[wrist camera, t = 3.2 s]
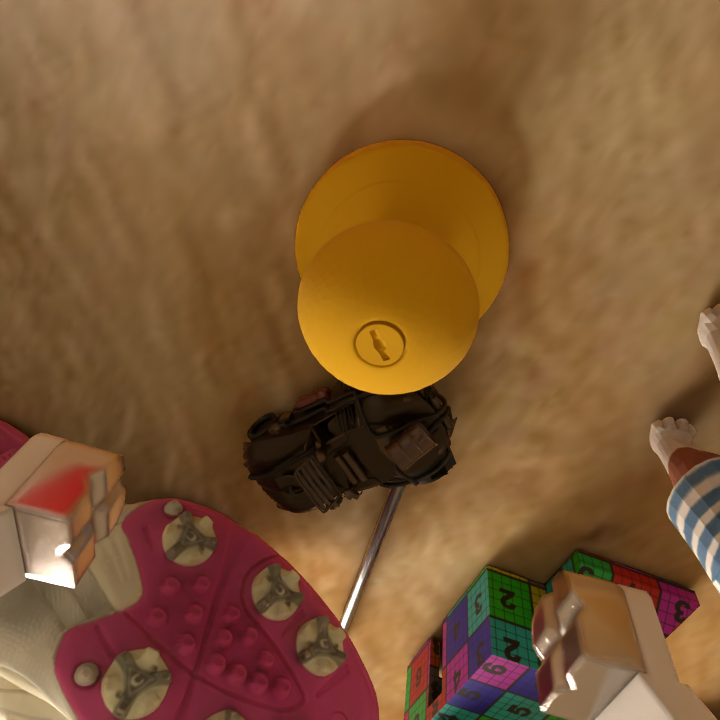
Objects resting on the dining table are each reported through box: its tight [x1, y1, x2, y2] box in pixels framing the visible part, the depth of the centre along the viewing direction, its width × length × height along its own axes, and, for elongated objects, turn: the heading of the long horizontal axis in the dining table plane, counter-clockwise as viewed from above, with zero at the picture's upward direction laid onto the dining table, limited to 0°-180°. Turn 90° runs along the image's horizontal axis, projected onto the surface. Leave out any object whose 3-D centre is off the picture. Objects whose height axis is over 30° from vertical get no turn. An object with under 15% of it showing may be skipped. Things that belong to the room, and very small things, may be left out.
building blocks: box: [404, 550, 700, 720], centre depth 30 cm, size 15×10×8 cm
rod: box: [339, 485, 406, 633], centre depth 32 cm, size 1×19×1 cm, turn 167°
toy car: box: [221, 380, 457, 513], centre depth 25 cm, size 6×12×4 cm, turn 123°
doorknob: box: [295, 140, 509, 395], centre depth 19 cm, size 8×8×8 cm
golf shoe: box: [0, 420, 379, 720], centre depth 31 cm, size 12×33×15 cm
